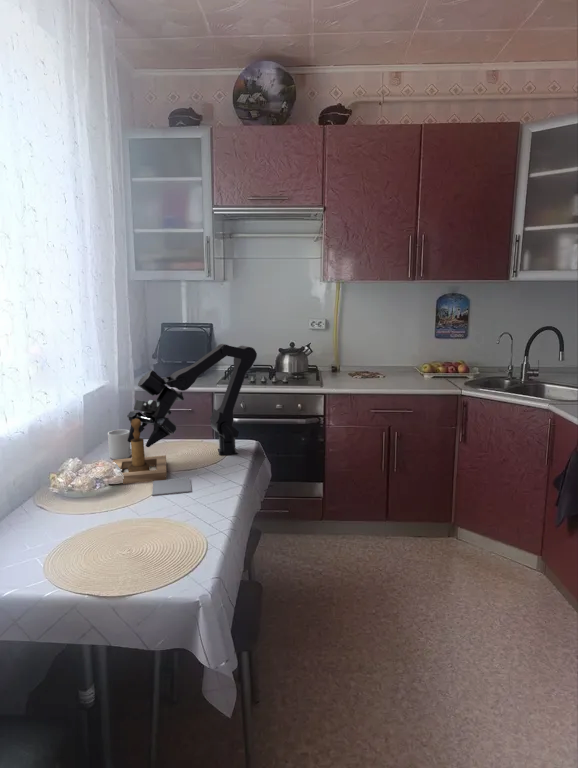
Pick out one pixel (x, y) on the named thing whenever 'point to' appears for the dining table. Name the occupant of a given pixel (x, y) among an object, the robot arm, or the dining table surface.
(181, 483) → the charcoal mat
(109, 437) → the cup
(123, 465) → the walnut holder
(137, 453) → the wooden pepper mill
